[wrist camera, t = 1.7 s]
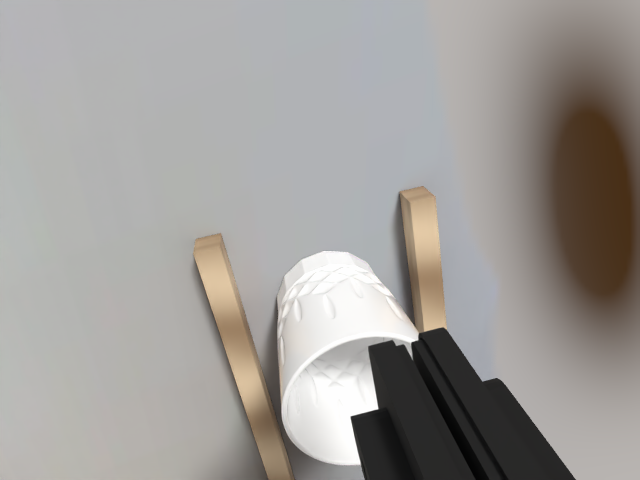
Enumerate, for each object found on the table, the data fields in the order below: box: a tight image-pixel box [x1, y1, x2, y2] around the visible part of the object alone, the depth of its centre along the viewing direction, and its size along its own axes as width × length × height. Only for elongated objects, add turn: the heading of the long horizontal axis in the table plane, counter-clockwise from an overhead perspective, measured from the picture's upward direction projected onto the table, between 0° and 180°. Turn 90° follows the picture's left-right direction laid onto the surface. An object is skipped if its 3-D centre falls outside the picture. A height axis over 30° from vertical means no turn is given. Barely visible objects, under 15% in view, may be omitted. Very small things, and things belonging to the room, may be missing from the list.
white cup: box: [277, 251, 419, 466], centre depth 27 cm, size 8×8×10 cm
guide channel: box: [193, 186, 447, 480], centre depth 34 cm, size 27×14×2 cm, turn 11°
